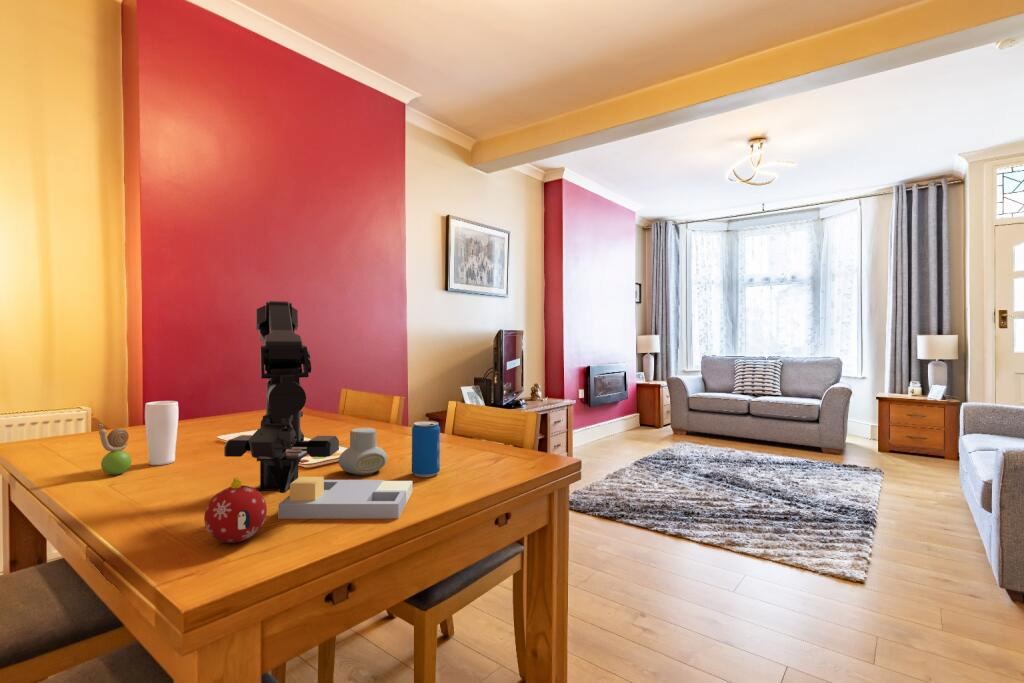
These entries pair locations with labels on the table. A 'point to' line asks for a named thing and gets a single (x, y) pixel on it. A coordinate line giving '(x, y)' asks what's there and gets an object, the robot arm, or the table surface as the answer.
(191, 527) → the table surface
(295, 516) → the trap board
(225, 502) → the christmas ornament
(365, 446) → the air freshener
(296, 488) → the ochre block
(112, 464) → the snail figurine
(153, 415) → the drinking glass
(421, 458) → the beverage can
